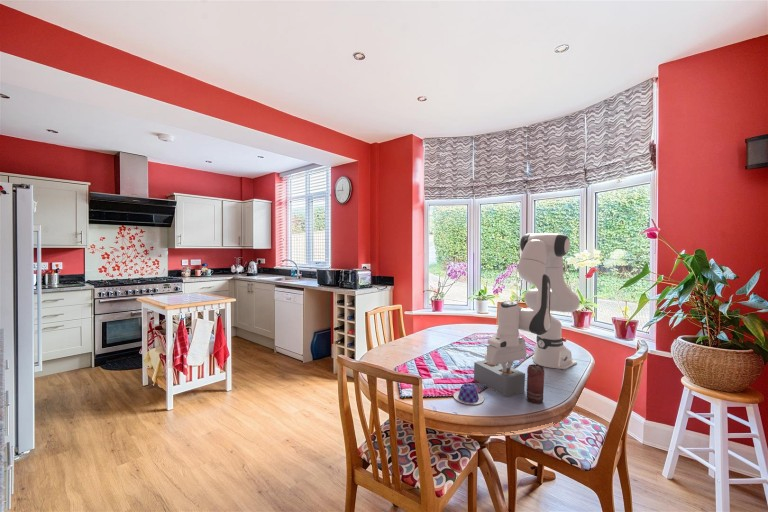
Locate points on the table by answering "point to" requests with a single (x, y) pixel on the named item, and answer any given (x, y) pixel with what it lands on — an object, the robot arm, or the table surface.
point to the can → (535, 383)
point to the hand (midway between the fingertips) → (506, 371)
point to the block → (499, 378)
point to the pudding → (468, 395)
